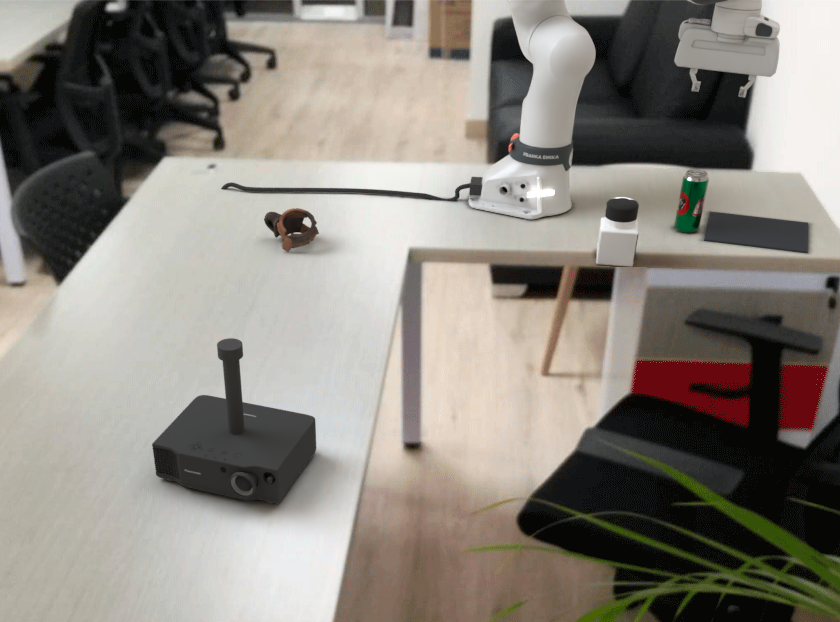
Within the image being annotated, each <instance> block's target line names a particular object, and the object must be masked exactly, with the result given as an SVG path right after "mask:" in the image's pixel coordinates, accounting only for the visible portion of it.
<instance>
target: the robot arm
mask: <svg viewBox="0 0 840 622" xmlns="http://www.w3.org/2000/svg"><path fill="white" fill-rule="evenodd" d="M686 1H687V2H689V3H691V4H694V5H698V6H704V5H705V6H706V5H711V4H712V5H713V4H715V5H714V9H713V14H712V17H711V18H712V19H709V18H708V19H707V18H696V17H688V19H685V20H684V21H682V22H681V23H680V25H679V29H678V33H677V34H678V35H677V36H678V39H679V43H678V46H677V49H676V51H675V56H674V60H673V61H674V64H675V65H676V66H677V67H679V68H690V69H689V76H690V79H691V82H692V85H691V91H690V92H698V93H699V91H700V86H701V83H702V81H699V80H697V76H696V75H697V73H698V70H706V71H714V72H715V71H716V72H723V73H731V74H739V75H741V74H742V75H748V82H747V83H746V84H745V85H744V86H740V87H739V91H738V98H746V96H747V93H748V92H747V91H748V90H749V88H751V86H752V85H753V84H754V83H755V82H756V78H757V77H765V78H772V77H773V76H774V75H776V73H777V69H778V64H779V59H780V58H779V57H780V48H781V47H780V46H781V44H780V39H779V38H778V35H779V34H780V30H781V25H780V23H779V22H778V21H776V20H774V19H772V18H769V17H767V16H765V15H763V14H761V11H762V6H763V0H686ZM507 3H508V6H509V9H510V12H511V18H512V23H513V27H514V30H515V33H516V37H517V41H518V45H519V48H520V50H521V52H522V54H523V56H524V57H525V59H526V60H528V61H529V62H530V63H531V64H532V68H533V71H532V78H531V81H530V82H531V83H530V85H529V88H528V92H527V93H526V94H527V95H526V96H525V97H524V98H523V101H522V105H521V117H520V126H519V127H520V128H519V133H518V132H517V133H513V135H512V136H511V137H510V141H509V144H508V154H507V155H505V156H504V157H503V158H501V159H499V160H498V161H496V162H495V163H493V164H492V165H490V166H489V167H488V168H487V169H486V171H485V172H484V174H483V176H471V178H470V182H469V183H465V184H461V185H458V186H457V187H456V188H455V190H454V195H453V197H449V198H444V197H439V196H436V195H433V194H429V193H425V192H415V191H414V192H413V191H403V190H392V189H391V190H390V189H389V190H388V189H375V188H374V189H373V188H355V187H354V188H352V187H351V188H349V187H259V186H257V187H256V186H245V185H242V184H239V183H236V182H226V183H224V184H223V185H222V186H221V190H222V191H223V190H227V189H229V188H235V189H237V190H240V191H244V192H253V193H256V192H257V193H260V192H261V193H345V194H347V193H348V194H349V193H350V194H372V195H388V196H400V197H412V198H423V199H428V200H431V201H440V202H442V201H443V202H456V201H458V200H459V198H460V195H461V193H460V192H461V191H463V190H467V189H469V193H468V194H469V195H468V196H469V197H468V205H469V207H470V208H472V209H477V210H481V211H487V212H490V213H495V214H501V215H506V216H510V217H516V218H520V219H526V220H538V219H541V218H543V217H544V218H545V217H551V216H557V215H561V214H564V213H566V212H568V211H569V210H570V209H571V208H572V207H573V205H572V199H571V198H572V197H571V190H570V169H571V166H572V163H573V157H574V156H573V155H574V140H573V133H574V125H575V117H576V109H577V104H578V101H579V100H578V99H579V97H580V93H581V91H582V87H583V85H584V81H585V78H586V76H587V75H588V74H589V73H590V71H591V70H592V68H593V66H594V65H595V61H596V53H597V52H596V47H595V44H594V41H593V38H592V37H591V35H590V34H589V32H588V30H587V29H586V28H585V27H584V26H582V25H580V24H579V23H578V22H576V21H575V20H574V19H573V18H572V16H571V15H570V13H569V11H568V9H567V6H566V1H565V0H507Z"/></svg>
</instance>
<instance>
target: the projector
mask: <svg viewBox="0 0 840 622" xmlns="http://www.w3.org/2000/svg"><path fill="white" fill-rule="evenodd" d="M243 346H244V345H243V341H242V340H241V339H238V338H234V337H233V338H232V337H231V338H223V339H220V340H219V341H218V342H217V343H216V351H217V359H219V360H220V361H222V369H223V371H222V372H223V381H224V382H223V383H224V393H225V394H224V395H225V397H219V396H214V395H209V394H208V395H207V394H200V395H197V396H196V397H195V398H194V399H192V401H191V402H190V403H189V404H188V405H187V406H186V407H185V408H184V409H183V410H182V412H180V413H179V415H178V416H177V417H176V418H175V419H174V420H173V421H172V422H171V423H170V424H169V425H168V426H167V427H166V428H165V429H164V431H163V432H162V433H161V434H160V435H159V436H158V437H157V438H156V439H155V440H154V441H153V442H152V443H151V447H152V453H153V460H154V461H153V462H154V468H155V469H154V470H155V475H156V477H158V478H160V479H165V480H167V481H169V482H176V483H178V484H179V485H181V486H182V487H184V488H189V489H193V490H197V491H201V492H202V491H203V492H207V493H212V494H215V495H220V496H224V497H229V498H233V499H237V500H242V501H248V502H249V501H262V502H266V503H269V504H277V505H278V504H280V503H281V501H283V499H284V497H285V496H286V494H287V493H288V491H289V490H290V489H291V487H292V486H293V484H294V483H295V481H296V480H297V479H298V477H299V476H300V474H301V473H302V472H303V471H304V469H305V468H306V466H307V464H309V462H310V461H311V459H312V458H313V456H314V455H315V453H316V451H317V428H316V424H317V423H316V417H314V416H313V415H310V414H307V413H301V412H295V411H290V410H286V409H281V408H276V407H270V406H264V405H260V404H254V403H249V402H244V401H243V391H242V390H243V389H242V377H241V363H240V360H241V359H242V358H243V357H244V349H243V348H244V347H243Z"/></svg>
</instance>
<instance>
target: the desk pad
mask: <svg viewBox="0 0 840 622" xmlns="http://www.w3.org/2000/svg"><path fill="white" fill-rule="evenodd" d="M703 241H705V242H713V243H722V244H730V245H737V246H745V247H755V248H763V249H769V250H770V249H771V250H777V251H778V250H779V251H786V252H795V253H804V254H808V251H809V250H808V249H809V222H805V221H796V220H789V219H779V218H771V217H763V216H752V215H745V214H738V213H737V214H735V213H727V212H718V211H709V216H708V220H707V225H706V229H705V234H704V238H703Z"/></svg>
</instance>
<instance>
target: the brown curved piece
mask: <svg viewBox="0 0 840 622" xmlns="http://www.w3.org/2000/svg"><path fill="white" fill-rule="evenodd" d="M306 218H308V219H309V221H310V224H311V225H310V226H308V225H307V224H305V223H304V219H306ZM263 222H264V224H265V226H266V227H267V228H268V229H269V230H270V231H271V232H272V233H273V235H274V238H278V237H281V239H282V240H283V241H282V245H281V248H282V250H284V251H285V252H287V253H289V252H290V251H291V250H292V249H296V248H297V249H298V248H300V247H303V246H306V245H309V244H310V241H311V242H312V241H313V240H314V239H315V238H316V236H317V235H320V231H319V229H318V227H317V226H316V225H317V224H318V222H317V221H316V219H315V216H314V215H313V214H312V213H311V212H309V211H308V210H305V209H303V208H299V207H298V208H293V207H292V208H290V209H287V210H285V211H283V212H282V214H280V213H279V212H276V211H269V212H267V213H265V215H264V218H263ZM289 235H290V236H289Z"/></svg>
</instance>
